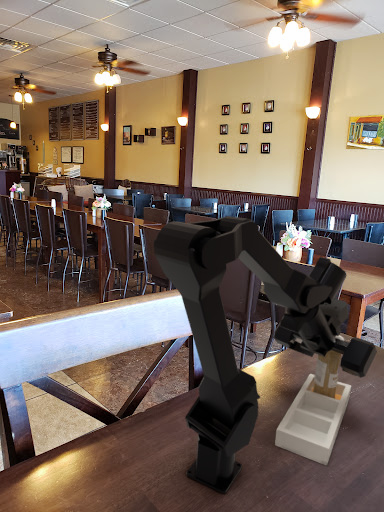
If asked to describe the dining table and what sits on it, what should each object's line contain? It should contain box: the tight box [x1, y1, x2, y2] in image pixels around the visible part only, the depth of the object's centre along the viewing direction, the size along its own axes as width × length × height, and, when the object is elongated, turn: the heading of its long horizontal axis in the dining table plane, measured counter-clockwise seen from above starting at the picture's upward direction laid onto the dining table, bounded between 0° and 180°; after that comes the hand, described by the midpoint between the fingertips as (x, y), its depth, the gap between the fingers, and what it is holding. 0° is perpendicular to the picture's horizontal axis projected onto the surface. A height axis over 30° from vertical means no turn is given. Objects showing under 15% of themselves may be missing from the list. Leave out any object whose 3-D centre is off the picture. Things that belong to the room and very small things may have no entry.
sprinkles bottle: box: [313, 335, 345, 399], centre depth 79 cm, size 5×5×13 cm
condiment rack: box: [274, 373, 352, 466], centre depth 74 cm, size 24×8×3 cm, turn 150°
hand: (332, 363), depth 80 cm, fingers open, 9 cm apart
